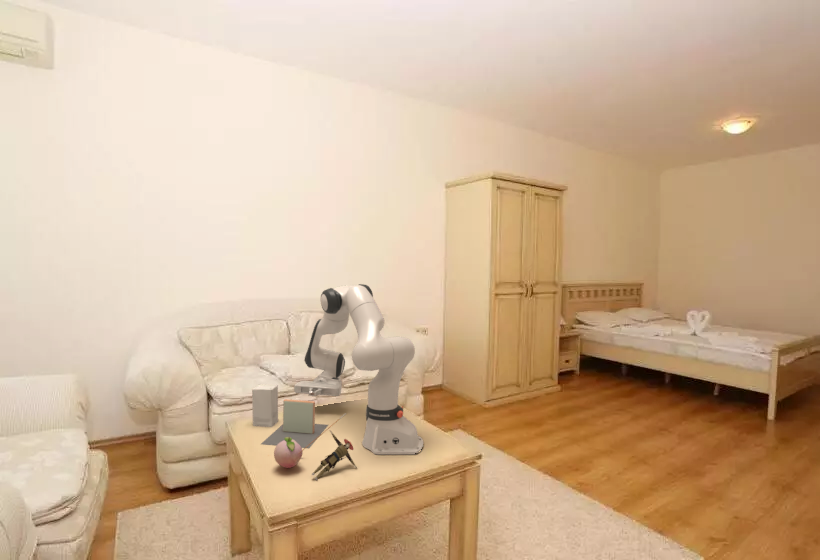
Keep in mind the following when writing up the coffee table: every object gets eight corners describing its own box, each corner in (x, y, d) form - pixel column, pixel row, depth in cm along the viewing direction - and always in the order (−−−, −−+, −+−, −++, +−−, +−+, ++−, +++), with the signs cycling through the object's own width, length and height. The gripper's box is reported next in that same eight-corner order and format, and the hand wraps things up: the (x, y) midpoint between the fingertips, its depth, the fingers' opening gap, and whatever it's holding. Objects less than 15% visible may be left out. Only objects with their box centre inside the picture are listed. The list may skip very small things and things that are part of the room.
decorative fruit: (269, 465, 135) (270, 435, 135) (294, 459, 140) (294, 429, 140) (279, 478, 128) (280, 446, 127) (305, 471, 133) (306, 439, 132)
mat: (328, 425, 169) (328, 424, 169) (309, 449, 148) (309, 448, 148) (285, 422, 172) (285, 421, 172) (260, 445, 150) (260, 444, 150)
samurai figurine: (321, 497, 132) (366, 453, 145) (332, 497, 125) (379, 451, 137) (292, 455, 133) (339, 415, 146) (301, 452, 125) (350, 410, 138)
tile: (314, 432, 162) (315, 401, 161) (312, 434, 160) (313, 403, 159) (284, 429, 163) (285, 399, 163) (282, 431, 161) (283, 400, 161)
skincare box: (278, 422, 171) (279, 384, 171) (271, 428, 165) (272, 389, 164) (258, 421, 172) (259, 383, 172) (251, 427, 166) (251, 388, 165)
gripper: (300, 375, 191) (288, 384, 177) (344, 379, 188) (335, 388, 174) (300, 389, 191) (288, 399, 177) (344, 393, 188) (335, 403, 175)
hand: (312, 394), depth 176 cm, fingers closed
